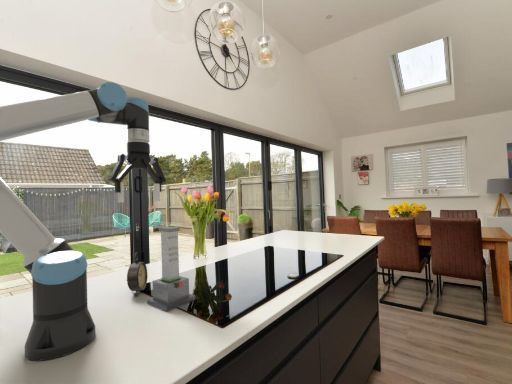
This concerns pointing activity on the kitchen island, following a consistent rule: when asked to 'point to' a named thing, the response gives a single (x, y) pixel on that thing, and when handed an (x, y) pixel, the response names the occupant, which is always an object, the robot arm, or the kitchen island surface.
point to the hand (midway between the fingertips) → (140, 201)
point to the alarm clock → (137, 276)
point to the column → (170, 254)
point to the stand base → (170, 294)
